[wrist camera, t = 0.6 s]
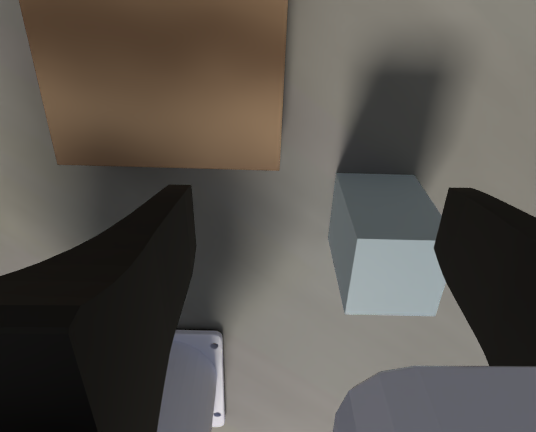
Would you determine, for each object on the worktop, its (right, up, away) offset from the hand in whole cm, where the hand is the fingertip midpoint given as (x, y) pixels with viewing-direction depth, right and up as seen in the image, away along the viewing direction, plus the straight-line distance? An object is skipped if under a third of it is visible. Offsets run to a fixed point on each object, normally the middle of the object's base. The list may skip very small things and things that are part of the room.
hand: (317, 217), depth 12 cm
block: (+4, 0, +11) cm, 12 cm away
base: (-6, +8, +7) cm, 11 cm away
